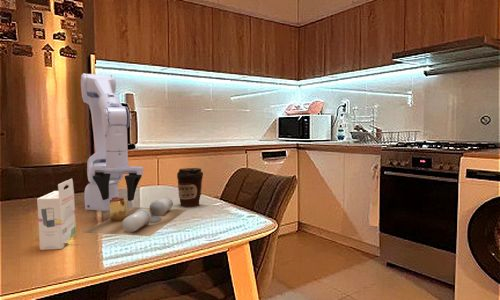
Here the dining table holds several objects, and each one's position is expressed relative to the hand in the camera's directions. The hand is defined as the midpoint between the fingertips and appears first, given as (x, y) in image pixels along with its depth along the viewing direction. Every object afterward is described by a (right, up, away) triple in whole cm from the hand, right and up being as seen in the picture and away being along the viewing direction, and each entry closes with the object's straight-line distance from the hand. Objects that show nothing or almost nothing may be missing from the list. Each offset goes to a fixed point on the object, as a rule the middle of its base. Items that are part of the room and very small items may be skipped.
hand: (118, 199), depth 101 cm
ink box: (-8, -8, -16) cm, 20 cm away
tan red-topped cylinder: (0, -6, 0) cm, 6 cm away
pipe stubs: (+9, -7, 0) cm, 11 cm away
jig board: (+6, -7, +1) cm, 9 cm away
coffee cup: (+17, -5, +18) cm, 25 cm away
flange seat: (+9, -6, 0) cm, 11 cm away
